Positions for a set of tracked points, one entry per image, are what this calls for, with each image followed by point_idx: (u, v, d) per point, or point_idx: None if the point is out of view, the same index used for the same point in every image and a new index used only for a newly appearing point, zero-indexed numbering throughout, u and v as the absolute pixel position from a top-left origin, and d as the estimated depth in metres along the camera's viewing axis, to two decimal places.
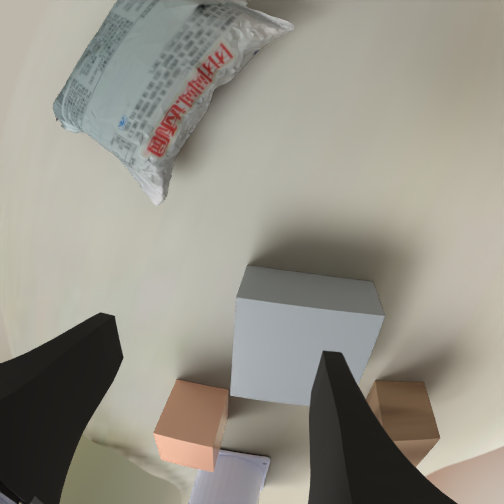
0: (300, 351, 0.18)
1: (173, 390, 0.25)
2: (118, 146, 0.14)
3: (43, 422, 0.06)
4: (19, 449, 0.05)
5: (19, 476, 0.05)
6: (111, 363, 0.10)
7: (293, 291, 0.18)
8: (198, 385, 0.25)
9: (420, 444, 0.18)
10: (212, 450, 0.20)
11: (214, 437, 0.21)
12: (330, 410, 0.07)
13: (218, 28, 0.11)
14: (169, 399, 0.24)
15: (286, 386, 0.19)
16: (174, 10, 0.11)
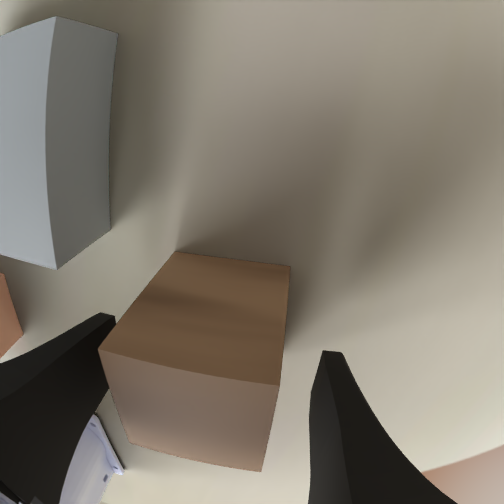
0: None
1: None
2: None
3: (43, 422, 0.06)
4: (19, 449, 0.05)
5: (19, 476, 0.05)
6: None
7: None
8: None
9: (218, 395, 0.07)
10: None
11: None
12: (330, 410, 0.07)
13: None
14: None
15: None
16: None
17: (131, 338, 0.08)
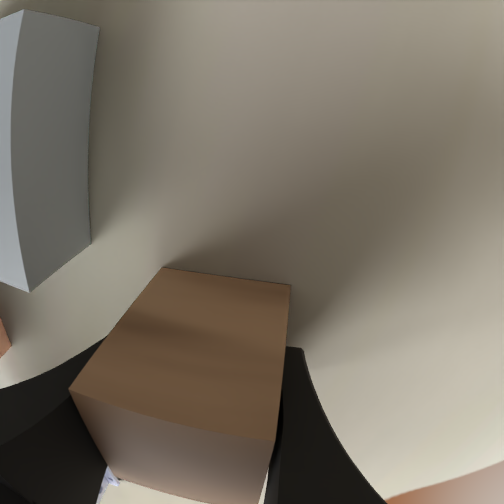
0: None
1: None
2: None
3: (79, 439, 0.06)
4: (57, 470, 0.05)
5: (56, 498, 0.05)
6: None
7: None
8: None
9: (204, 445, 0.06)
10: None
11: None
12: (281, 405, 0.08)
13: None
14: None
15: None
16: None
17: (105, 377, 0.06)
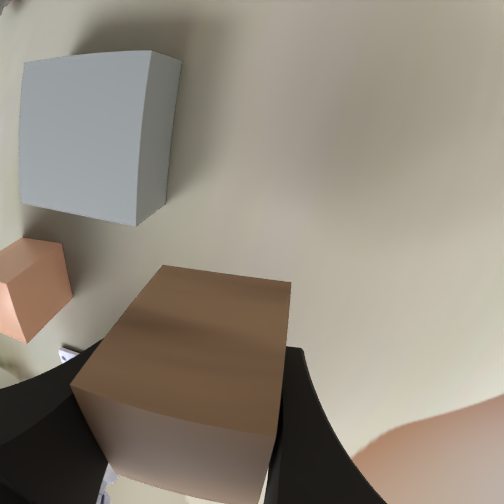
0: (68, 116, 0.13)
1: (12, 244, 0.19)
2: None
3: (79, 439, 0.06)
4: (57, 470, 0.05)
5: (56, 498, 0.05)
6: None
7: None
8: (36, 240, 0.20)
9: (205, 441, 0.06)
10: (9, 292, 0.15)
11: (15, 276, 0.16)
12: (280, 405, 0.08)
13: None
14: (3, 249, 0.18)
15: (62, 179, 0.14)
16: None
17: (107, 373, 0.06)
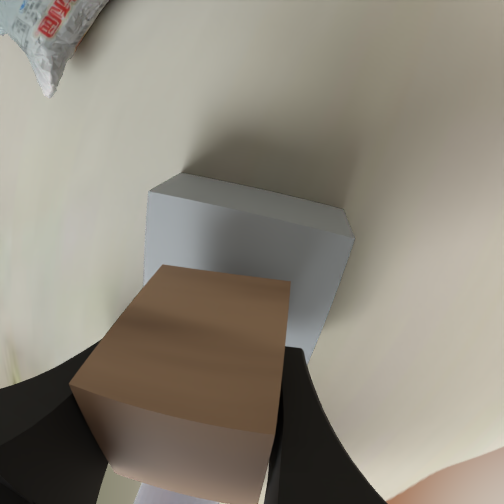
0: None
1: None
2: (17, 29, 0.09)
3: (79, 439, 0.06)
4: (56, 470, 0.05)
5: (56, 498, 0.05)
6: None
7: (229, 196, 0.13)
8: None
9: (204, 440, 0.06)
10: None
11: None
12: (281, 405, 0.08)
13: None
14: None
15: None
16: None
17: (106, 372, 0.06)
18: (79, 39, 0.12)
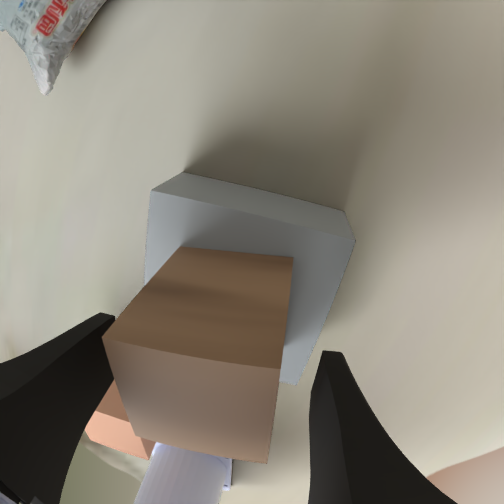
0: None
1: None
2: (15, 27, 0.09)
3: (43, 422, 0.06)
4: (19, 449, 0.05)
5: (19, 476, 0.05)
6: None
7: (231, 197, 0.13)
8: None
9: (220, 380, 0.07)
10: None
11: None
12: (330, 410, 0.07)
13: None
14: None
15: None
16: None
17: (135, 326, 0.08)
18: (76, 38, 0.12)
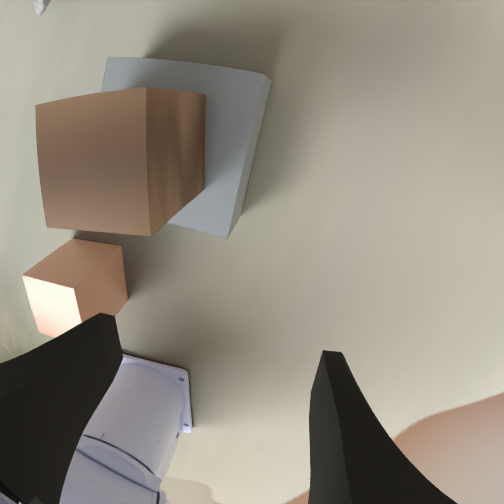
0: None
1: (64, 245, 0.21)
2: None
3: (43, 422, 0.06)
4: (19, 449, 0.05)
5: (19, 476, 0.05)
6: (111, 363, 0.10)
7: None
8: (91, 242, 0.22)
9: (105, 113, 0.08)
10: (75, 297, 0.16)
11: (81, 280, 0.17)
12: (330, 410, 0.07)
13: None
14: (55, 251, 0.20)
15: None
16: None
17: None
18: None
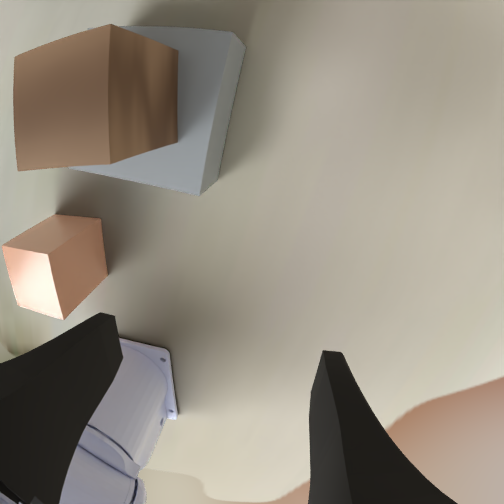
0: None
1: (45, 220, 0.20)
2: None
3: (43, 422, 0.06)
4: (19, 449, 0.05)
5: (19, 476, 0.05)
6: (111, 363, 0.10)
7: None
8: (72, 216, 0.21)
9: (74, 52, 0.08)
10: (50, 263, 0.16)
11: (56, 247, 0.16)
12: (330, 410, 0.07)
13: None
14: (36, 225, 0.19)
15: None
16: None
17: None
18: None
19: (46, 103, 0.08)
